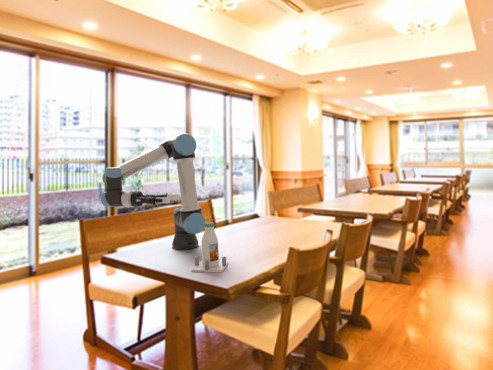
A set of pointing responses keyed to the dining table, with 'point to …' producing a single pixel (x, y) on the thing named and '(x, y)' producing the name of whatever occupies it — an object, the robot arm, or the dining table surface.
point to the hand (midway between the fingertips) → (174, 198)
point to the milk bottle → (210, 245)
